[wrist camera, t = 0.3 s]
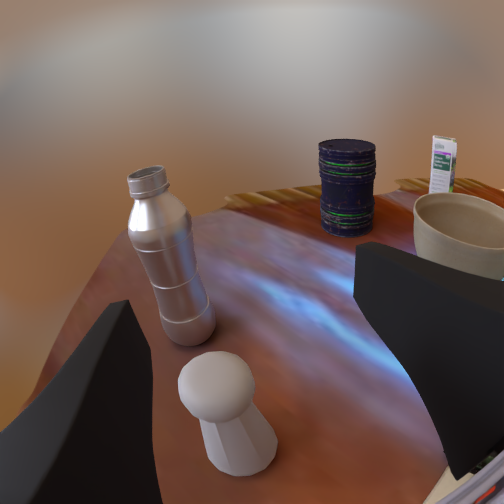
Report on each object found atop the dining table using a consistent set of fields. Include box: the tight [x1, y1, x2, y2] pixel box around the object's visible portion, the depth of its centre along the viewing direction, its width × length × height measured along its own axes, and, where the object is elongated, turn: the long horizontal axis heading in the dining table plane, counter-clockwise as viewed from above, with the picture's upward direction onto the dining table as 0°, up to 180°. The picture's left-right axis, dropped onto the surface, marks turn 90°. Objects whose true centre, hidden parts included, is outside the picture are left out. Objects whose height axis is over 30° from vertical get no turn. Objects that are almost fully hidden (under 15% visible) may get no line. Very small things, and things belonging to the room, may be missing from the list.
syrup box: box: [429, 135, 457, 194], centre depth 57 cm, size 6×6×14 cm
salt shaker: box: [178, 351, 278, 476], centre depth 19 cm, size 6×6×13 cm
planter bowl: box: [414, 192, 504, 281], centre depth 33 cm, size 16×16×11 cm
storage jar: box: [318, 139, 376, 237], centre depth 50 cm, size 10×10×15 cm
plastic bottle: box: [127, 165, 216, 346], centre depth 31 cm, size 6×7×20 cm
